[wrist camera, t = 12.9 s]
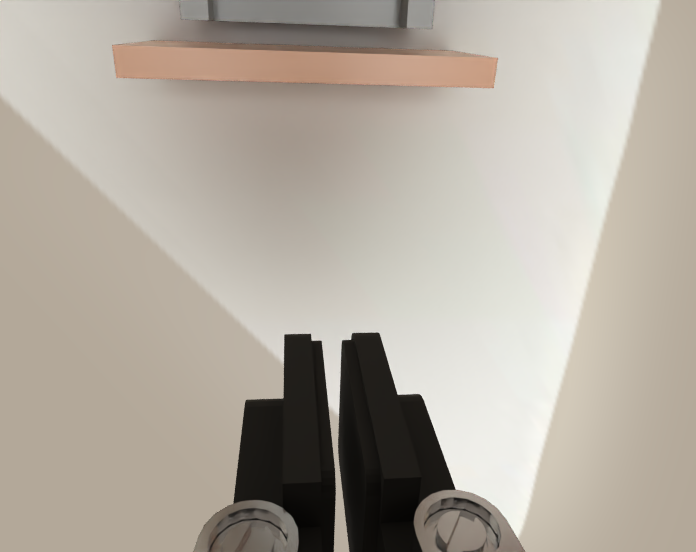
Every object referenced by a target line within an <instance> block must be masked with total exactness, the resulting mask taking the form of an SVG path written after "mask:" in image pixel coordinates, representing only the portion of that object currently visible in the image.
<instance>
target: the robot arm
mask: <svg viewBox="0 0 696 552" xmlns="http://www.w3.org/2000/svg"><path fill="white" fill-rule="evenodd" d="M338 453H339V465H340V472H341V482H342V490H343V499H344V508H345V517H346V526H347V533H348V542H349V551H350V552H525V550H524V549H523V547H522V545H521V543H520V542H519V540H518V538H517V537H516V535H515V533H514V532H513V530H512V528H511V527H510V525H509V523H508V522H507V520H506V519H505V517H504V516H503V515H502V513H501V512H500V511H499V510H498V508H496V507H495V506H494V505H492V504H491V503H490V502H489V501H487V500H486V499H484V498H482V497H480V496H477V495H475V494H473V493H470V492H465V491H460V490H456V489H455V487H454V484H453V481H452V478H451V475H450V473H449V470H448V467H447V464H446V461H445V459H444V456H443V453H442V450H441V448H440V445H439V442H438V439H437V436H436V434H435V431H434V428H433V425H432V422H431V420H430V417H429V414H428V411H427V409H426V406H425V403H424V400H423V398H422V396H421V395H419V394H411V395H397V392H396V388H395V385H394V381H393V378H392V374H391V371H390V368H389V364H388V361H387V357H386V354H385V351H384V347H383V344H382V340H381V337H380V334H379V333H352V338H351V340H342V351H341V380H340V408H339V437H338ZM335 489H336V488H335V468H334V457H333V447H332V437H331V428H330V419H329V408H328V398H327V389H326V379H325V369H324V360H323V350H322V341H311V334H285V337H284V399H259V400H258V399H257V400H246V402H245V408H244V417H243V426H242V435H241V443H240V452H239V460H238V469H237V477H236V486H235V494H234V503H233V504H232V505H229V506H227V507H225V508H224V509H222V510H220V511H219V512H217V513H216V514H215V515H213V516H212V517H211V519H209V521H208V522H207V523H206V524H205V525H204V527H203V529H202V531H201V533H200V535H199V537H198V539H197V542H196V545H195V549H194V551H193V552H334V526H335V525H334V524H335V495H336V492H335V491H336V490H335Z"/></svg>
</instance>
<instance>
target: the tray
mask: <svg viewBox="0 0 696 552" xmlns="http://www.w3.org/2000/svg"><path fill="white" fill-rule="evenodd" d="M179 3H180V15H181V19H185V20H208V21H234V22H260V23H286V24H312V25H338V26H363V27H389V28H415V29H432V27H433V16H434V5H435V0H179ZM112 48H113V55H114V62H115V70H116V77H117V78H142V79H179V80H215V81H251V82H288V83H324V84H361V85H397V86H433V87H470V88H494V82H495V75H496V68H497V60H498V58H494V57H488V56H481V55H475V54H469V53H463V52H456V51H445V50H416V49H387V48H358V47H329V46H300V45H271V44H242V43H213V42H184V41H155V40H153V41H144V42H136V43H127V44H118V45H112Z"/></svg>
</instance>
